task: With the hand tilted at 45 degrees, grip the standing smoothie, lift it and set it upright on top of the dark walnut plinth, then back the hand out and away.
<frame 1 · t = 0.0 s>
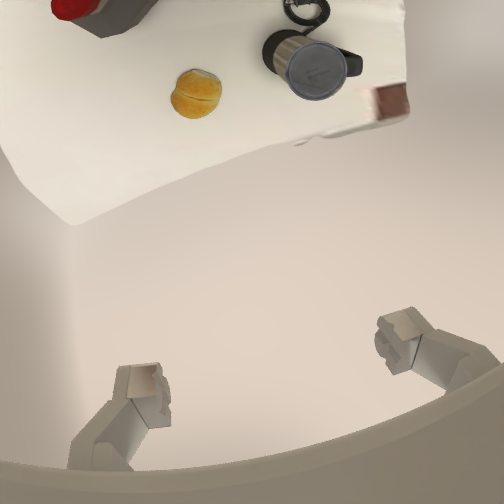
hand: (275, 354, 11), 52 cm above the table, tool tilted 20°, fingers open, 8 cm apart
milk frother: (292, 32, 47), on the table
bread roll: (195, 91, 52), on the table
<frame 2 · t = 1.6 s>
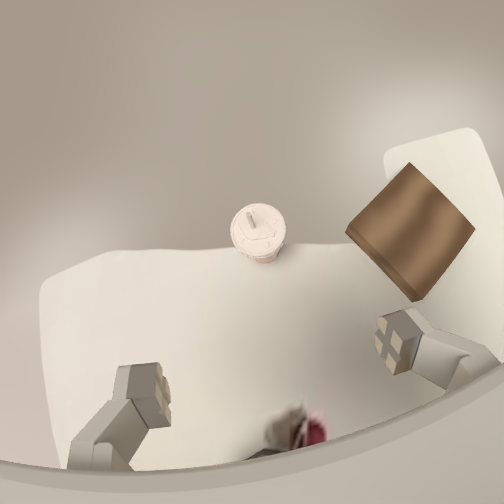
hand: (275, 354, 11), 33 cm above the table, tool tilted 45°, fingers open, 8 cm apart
plinth: (408, 234, 44), on the table
smoothie: (265, 250, 46), on the table
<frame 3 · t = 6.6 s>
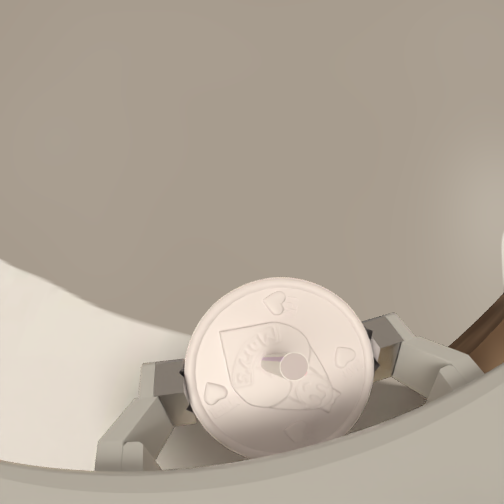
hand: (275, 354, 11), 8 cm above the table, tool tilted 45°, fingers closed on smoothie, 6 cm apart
smoothie: (259, 365, 19), on the table, touching gripper
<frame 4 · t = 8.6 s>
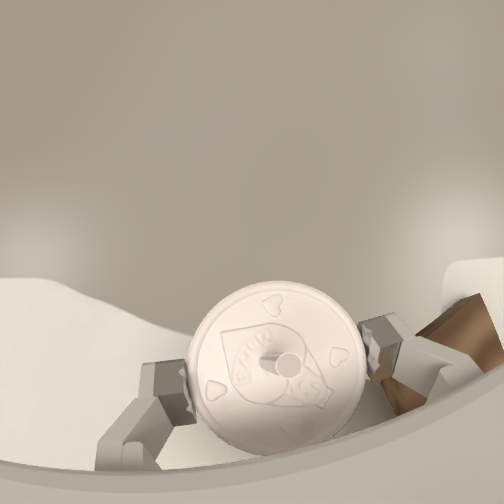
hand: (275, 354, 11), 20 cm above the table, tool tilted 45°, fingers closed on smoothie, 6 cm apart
plinth: (444, 381, 30), on the table
smoothie: (258, 364, 20), point 11 cm above the table, touching gripper
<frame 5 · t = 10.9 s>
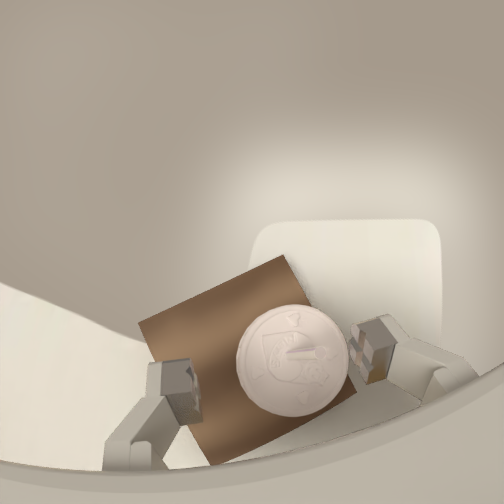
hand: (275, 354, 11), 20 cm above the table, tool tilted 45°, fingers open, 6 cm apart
plinth: (246, 362, 30), on the table
smoothie: (259, 361, 26), point 4 cm above the table, touching plinth
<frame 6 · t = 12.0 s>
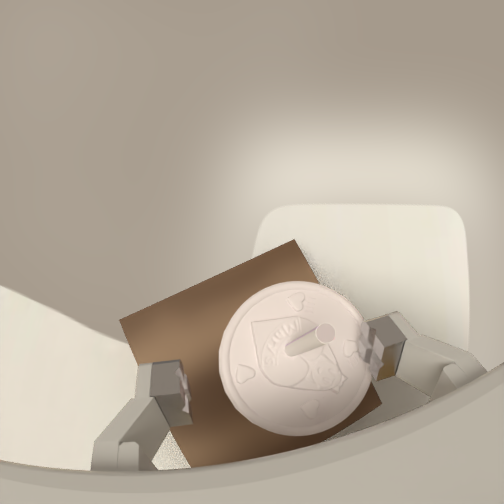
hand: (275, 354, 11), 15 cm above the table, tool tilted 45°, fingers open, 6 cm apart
plinth: (249, 368, 25), on the table
smoothie: (266, 368, 21), point 4 cm above the table, touching gripper, plinth
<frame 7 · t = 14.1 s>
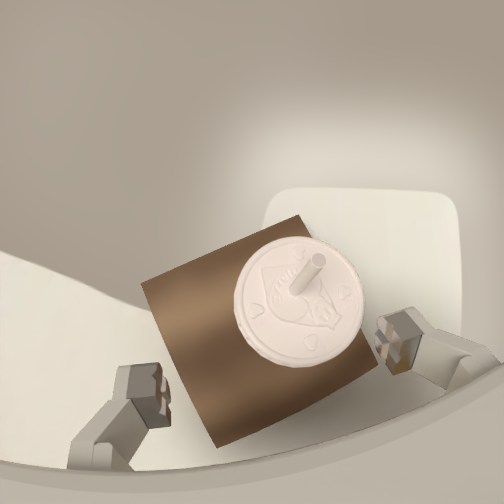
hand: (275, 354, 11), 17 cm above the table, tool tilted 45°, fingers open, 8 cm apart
plinth: (257, 332, 28), on the table
smoothie: (273, 327, 24), point 4 cm above the table, touching plinth
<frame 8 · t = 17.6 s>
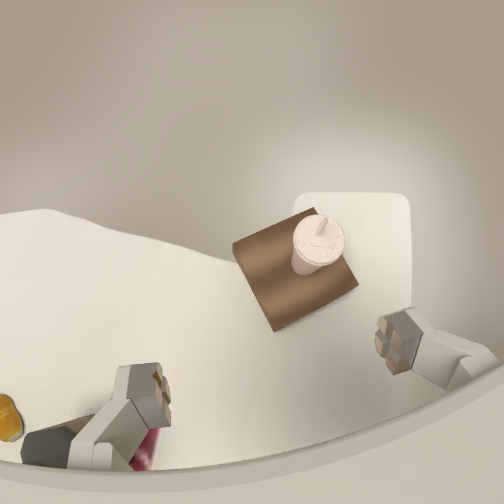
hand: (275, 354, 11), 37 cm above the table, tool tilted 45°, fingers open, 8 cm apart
liquor: (105, 440, 41), on the table
plinth: (292, 271, 51), on the table
bread roll: (8, 418, 40), on the table
smoothie: (303, 264, 48), point 4 cm above the table, touching plinth
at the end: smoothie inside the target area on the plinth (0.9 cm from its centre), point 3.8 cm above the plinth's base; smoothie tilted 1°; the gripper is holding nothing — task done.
